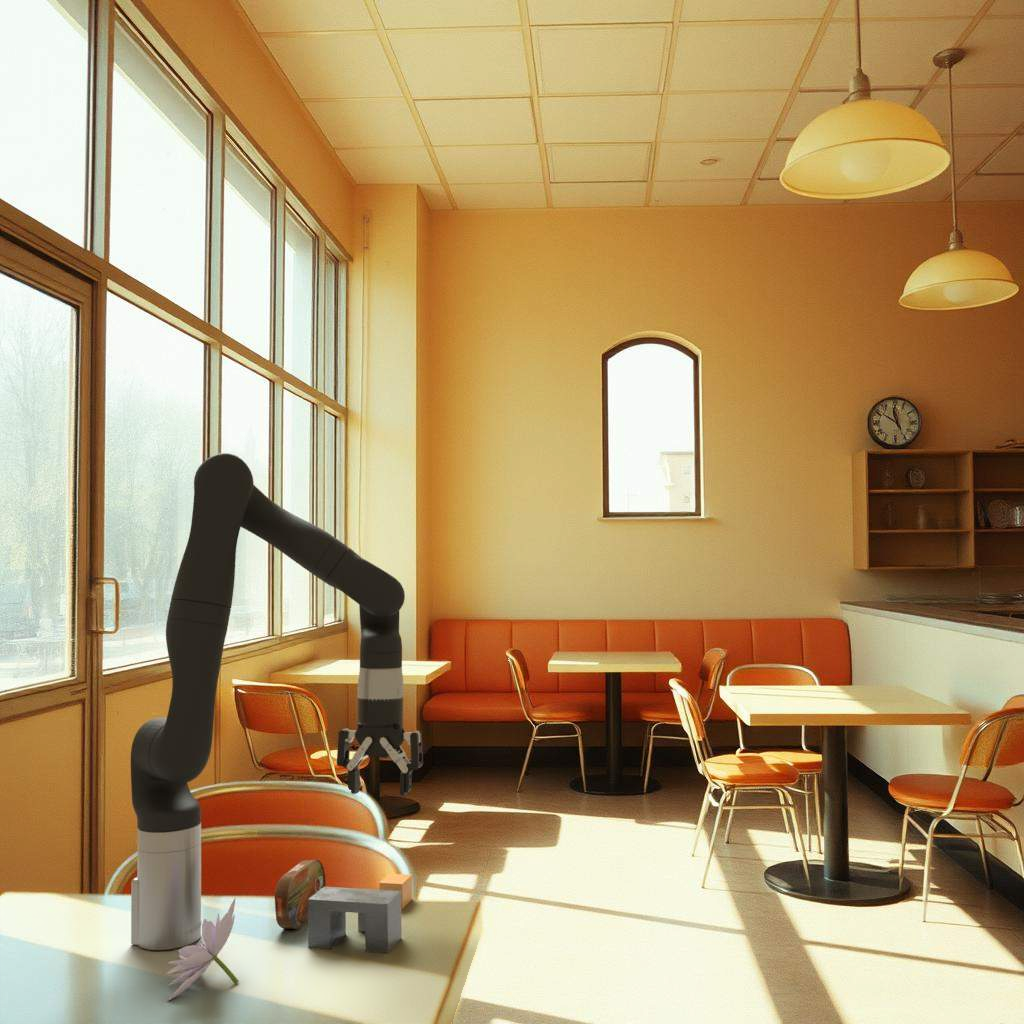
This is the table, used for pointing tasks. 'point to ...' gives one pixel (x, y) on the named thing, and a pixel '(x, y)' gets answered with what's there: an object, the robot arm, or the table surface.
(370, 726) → the robot arm
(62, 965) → the table surface
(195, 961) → the water lily
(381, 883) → the plug
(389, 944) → the housing
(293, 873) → the tin
